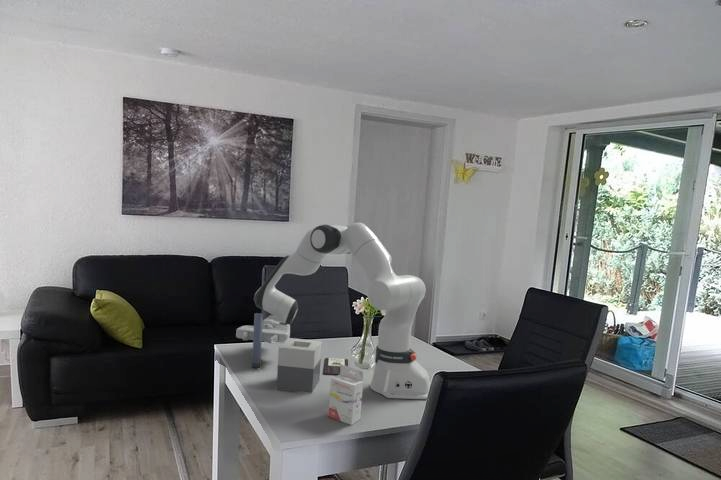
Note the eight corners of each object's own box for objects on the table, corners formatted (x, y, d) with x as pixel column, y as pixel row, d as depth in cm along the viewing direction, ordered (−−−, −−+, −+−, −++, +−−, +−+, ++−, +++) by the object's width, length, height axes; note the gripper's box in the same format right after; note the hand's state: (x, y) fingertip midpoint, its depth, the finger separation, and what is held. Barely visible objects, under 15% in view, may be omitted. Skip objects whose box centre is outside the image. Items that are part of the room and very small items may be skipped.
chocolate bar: (323, 373, 177) (325, 357, 195) (323, 375, 177) (325, 360, 195) (348, 374, 178) (347, 359, 196) (348, 377, 178) (347, 361, 196)
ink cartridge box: (327, 417, 142) (330, 367, 141) (337, 411, 146) (340, 363, 145) (351, 425, 138) (355, 374, 137) (361, 419, 142) (364, 370, 141)
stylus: (261, 366, 181) (264, 313, 180) (258, 369, 178) (261, 315, 177) (253, 365, 182) (255, 312, 180) (250, 368, 179) (253, 314, 177)
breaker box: (319, 380, 171) (321, 341, 170) (312, 393, 159) (314, 351, 158) (286, 376, 172) (288, 337, 171) (276, 389, 161) (278, 347, 160)
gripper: (243, 319, 193) (230, 328, 180) (293, 324, 191) (284, 333, 178) (242, 335, 194) (229, 345, 180) (292, 340, 192) (283, 350, 178)
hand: (257, 339), depth 179 cm, fingers open, 8 cm apart
